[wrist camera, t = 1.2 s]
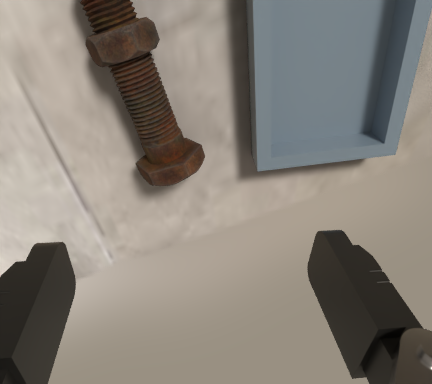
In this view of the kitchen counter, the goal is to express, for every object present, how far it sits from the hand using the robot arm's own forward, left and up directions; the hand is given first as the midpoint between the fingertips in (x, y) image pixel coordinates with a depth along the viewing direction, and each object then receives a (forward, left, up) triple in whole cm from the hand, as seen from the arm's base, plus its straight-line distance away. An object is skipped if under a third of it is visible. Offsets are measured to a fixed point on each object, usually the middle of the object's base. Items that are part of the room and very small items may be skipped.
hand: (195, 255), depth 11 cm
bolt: (+3, -1, -20) cm, 20 cm away
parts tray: (-11, -3, -19) cm, 22 cm away
